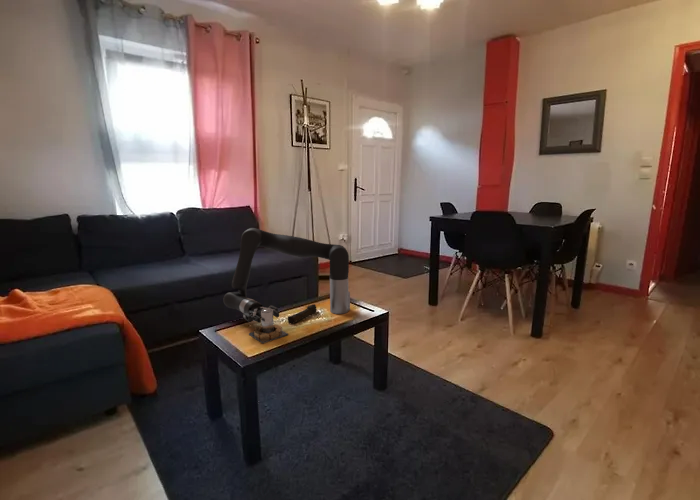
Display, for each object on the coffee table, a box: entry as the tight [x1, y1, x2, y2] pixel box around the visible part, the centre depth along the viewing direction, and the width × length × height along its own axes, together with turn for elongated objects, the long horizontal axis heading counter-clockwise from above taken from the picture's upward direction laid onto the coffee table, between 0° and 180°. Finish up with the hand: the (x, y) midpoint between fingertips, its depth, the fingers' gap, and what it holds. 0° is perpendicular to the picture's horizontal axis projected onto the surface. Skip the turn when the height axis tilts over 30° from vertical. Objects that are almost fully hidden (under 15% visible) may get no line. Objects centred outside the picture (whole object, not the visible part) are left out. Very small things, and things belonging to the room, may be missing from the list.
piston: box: [260, 307, 275, 333], centre depth 154 cm, size 5×5×11 cm
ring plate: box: [248, 324, 289, 344], centre depth 155 cm, size 12×12×2 cm
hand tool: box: [287, 304, 318, 325], centre depth 174 cm, size 19×4×5 cm, turn 144°
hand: (269, 317), depth 152 cm, fingers open, 8 cm apart
